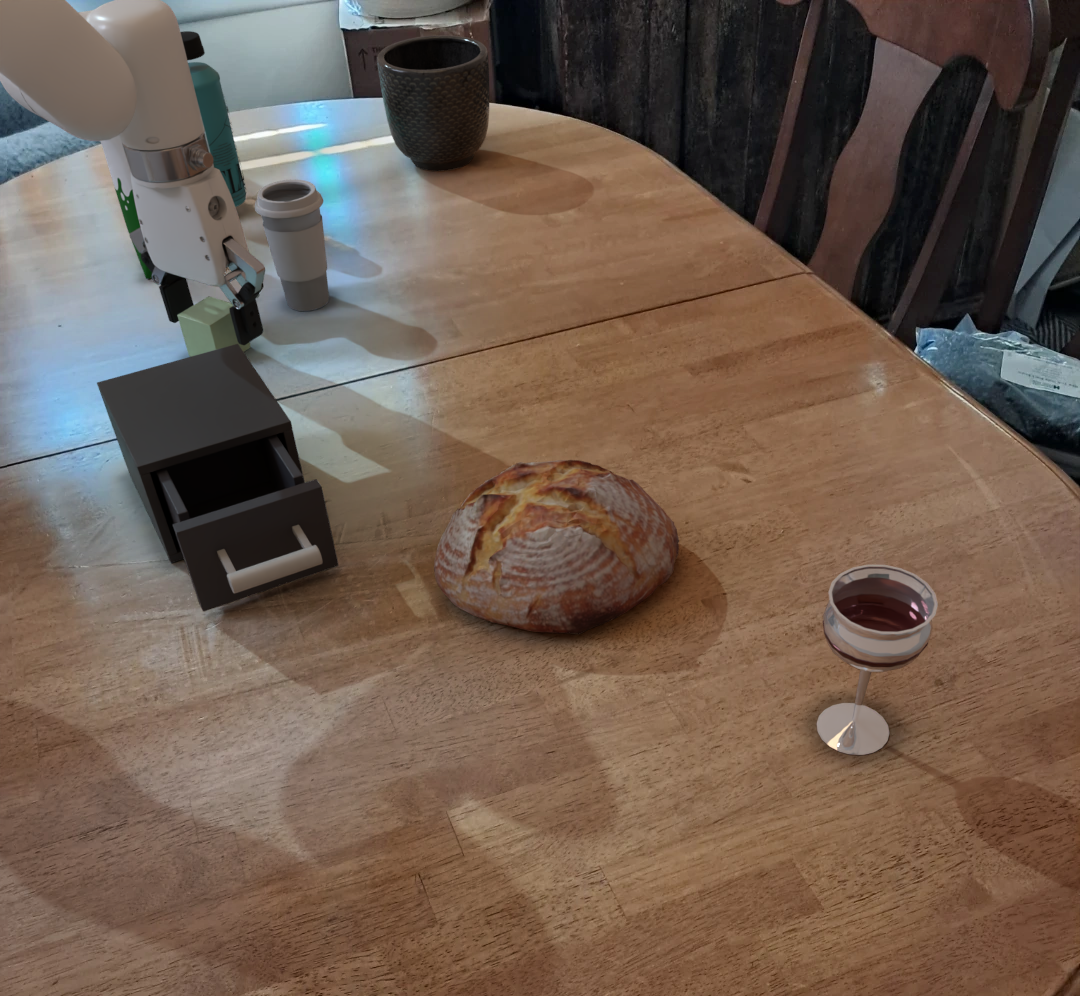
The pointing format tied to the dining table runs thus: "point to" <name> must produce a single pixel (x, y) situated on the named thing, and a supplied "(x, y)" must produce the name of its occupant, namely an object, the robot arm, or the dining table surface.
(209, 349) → the block
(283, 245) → the cup
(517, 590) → the bread
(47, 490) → the dining table surface
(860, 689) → the wineglass
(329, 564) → the mini filing drawer
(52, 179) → the dining table surface
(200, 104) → the beverage bottle
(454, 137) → the planter
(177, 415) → the cabinet
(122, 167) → the milk carton
